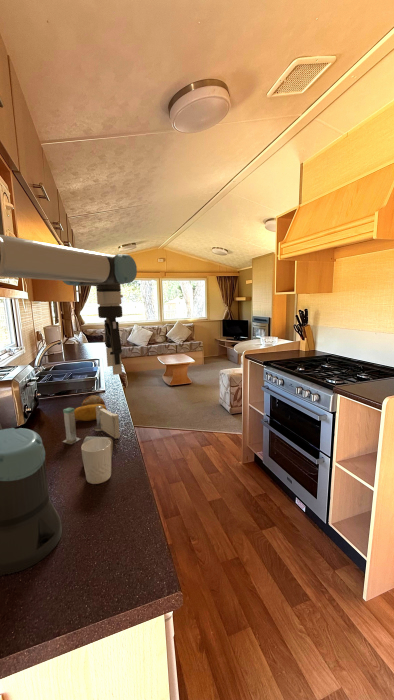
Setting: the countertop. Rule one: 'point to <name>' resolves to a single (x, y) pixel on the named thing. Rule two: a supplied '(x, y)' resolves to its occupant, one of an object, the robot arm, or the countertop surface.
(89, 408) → the potato
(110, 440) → the ceramic mug
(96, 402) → the bread roll
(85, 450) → the white cup
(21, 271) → the robot arm
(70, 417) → the gate posts
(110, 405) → the countertop surface
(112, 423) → the gate
